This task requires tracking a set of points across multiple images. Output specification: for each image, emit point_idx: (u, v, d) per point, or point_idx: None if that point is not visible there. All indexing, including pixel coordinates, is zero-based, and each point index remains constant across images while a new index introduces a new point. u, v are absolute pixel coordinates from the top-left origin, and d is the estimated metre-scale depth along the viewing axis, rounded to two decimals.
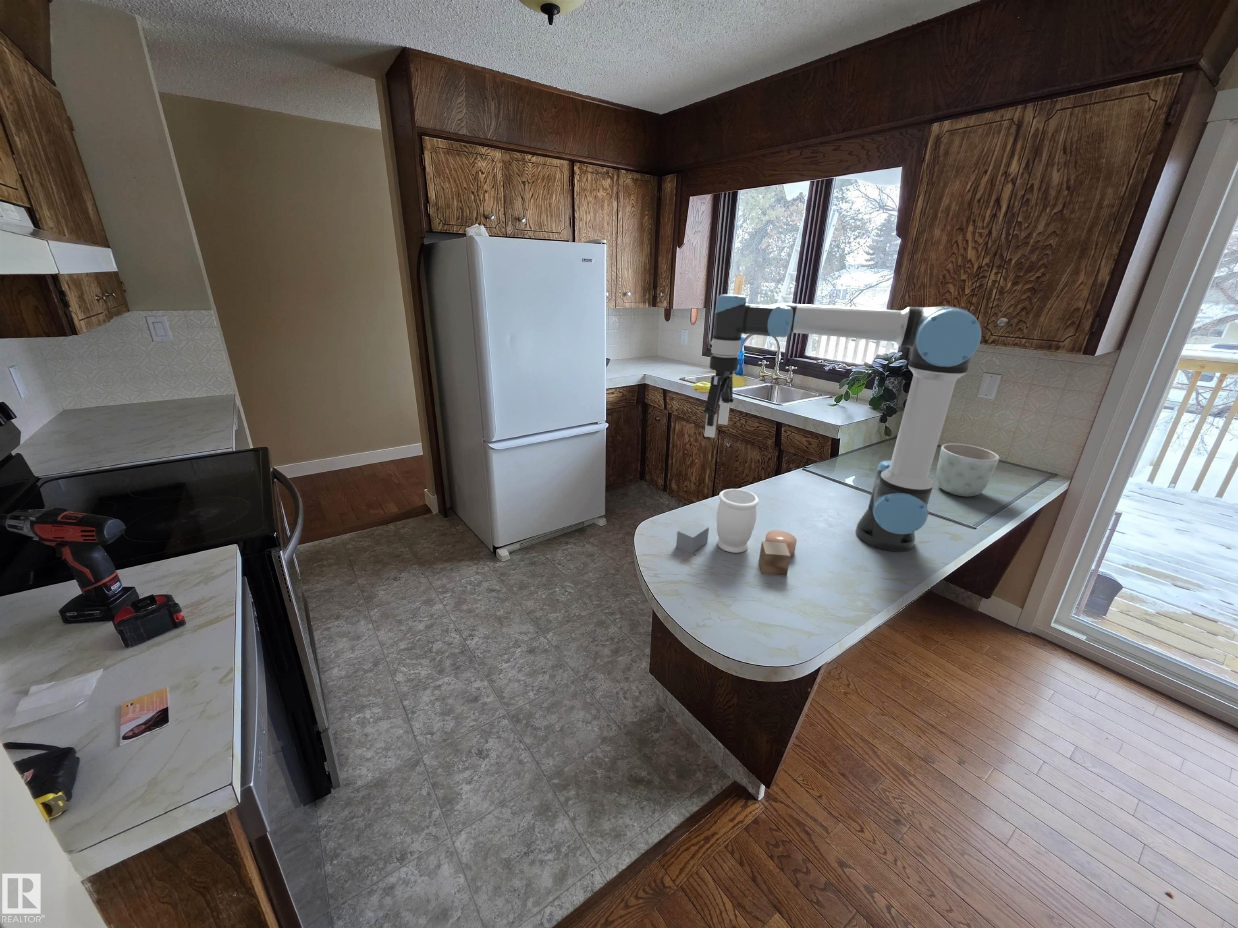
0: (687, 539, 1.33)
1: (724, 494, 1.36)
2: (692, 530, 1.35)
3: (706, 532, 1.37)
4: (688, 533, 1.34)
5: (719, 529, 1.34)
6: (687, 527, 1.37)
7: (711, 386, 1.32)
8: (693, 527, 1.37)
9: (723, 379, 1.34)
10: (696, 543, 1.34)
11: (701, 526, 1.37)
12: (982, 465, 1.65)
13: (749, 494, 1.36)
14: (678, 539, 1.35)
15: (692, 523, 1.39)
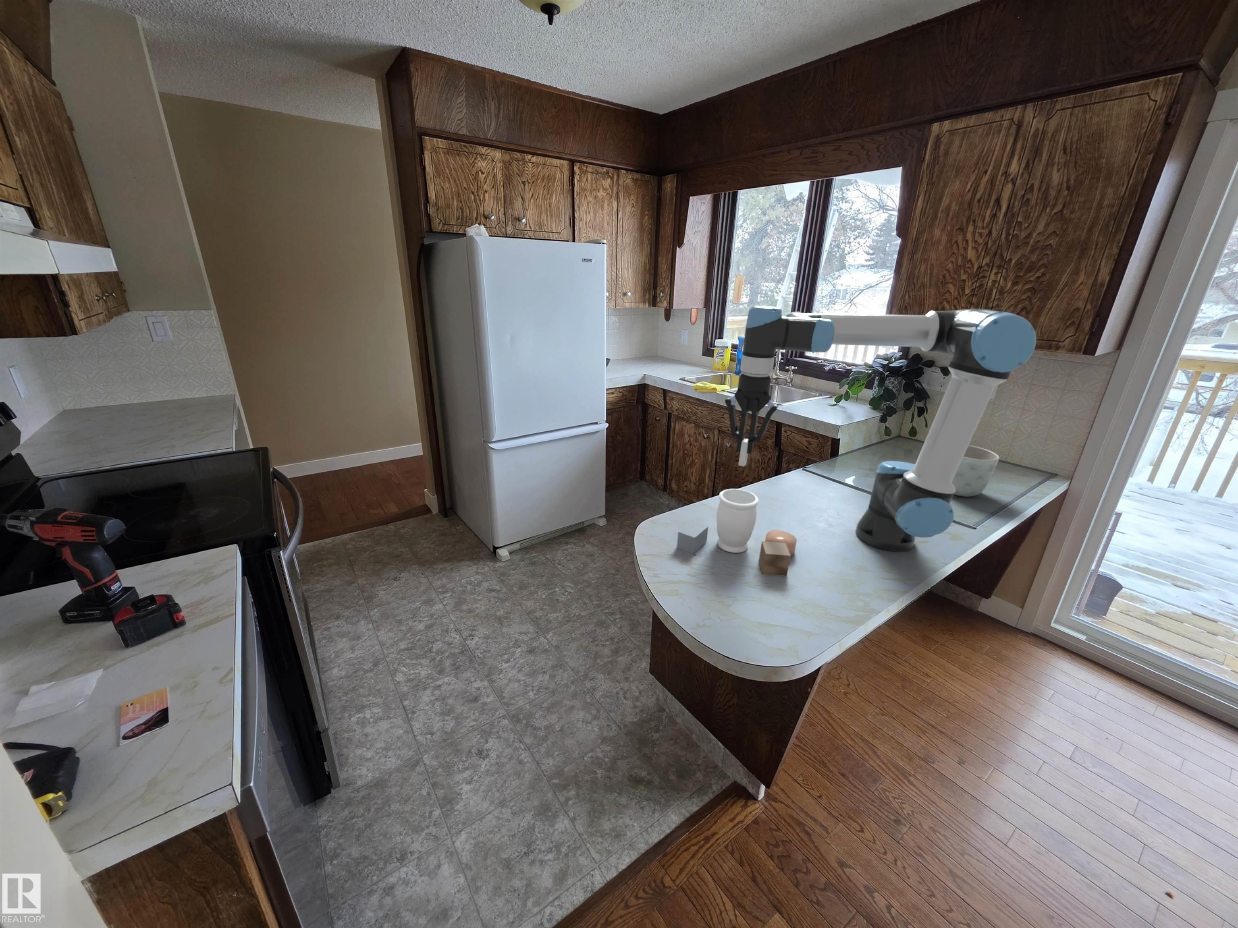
0: (688, 539, 1.33)
1: (724, 494, 1.36)
2: (692, 530, 1.35)
3: (706, 531, 1.37)
4: (689, 533, 1.33)
5: (719, 529, 1.34)
6: (687, 527, 1.37)
7: None
8: (693, 527, 1.37)
9: (740, 396, 1.23)
10: (697, 543, 1.34)
11: (700, 526, 1.38)
12: (982, 465, 1.65)
13: (749, 494, 1.36)
14: (679, 540, 1.35)
15: (691, 523, 1.39)
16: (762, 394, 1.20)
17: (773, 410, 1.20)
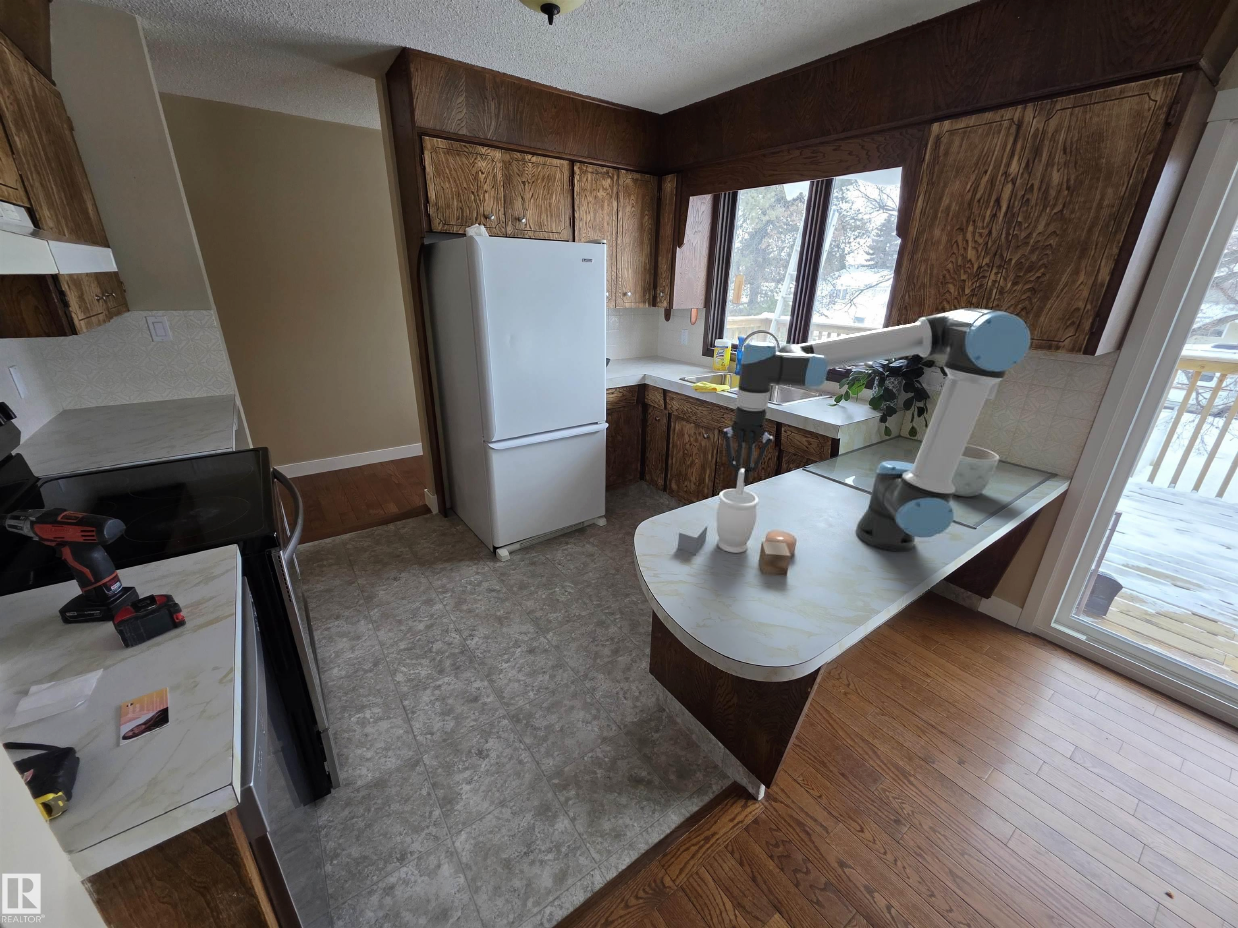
0: (690, 539, 1.33)
1: (724, 494, 1.36)
2: (693, 530, 1.35)
3: (705, 531, 1.38)
4: (690, 534, 1.33)
5: (719, 529, 1.34)
6: (686, 527, 1.36)
7: None
8: (692, 527, 1.37)
9: (736, 428, 1.26)
10: (698, 543, 1.34)
11: (700, 525, 1.38)
12: (982, 465, 1.65)
13: (749, 494, 1.36)
14: (680, 541, 1.34)
15: (690, 523, 1.39)
16: (758, 427, 1.23)
17: (769, 442, 1.23)
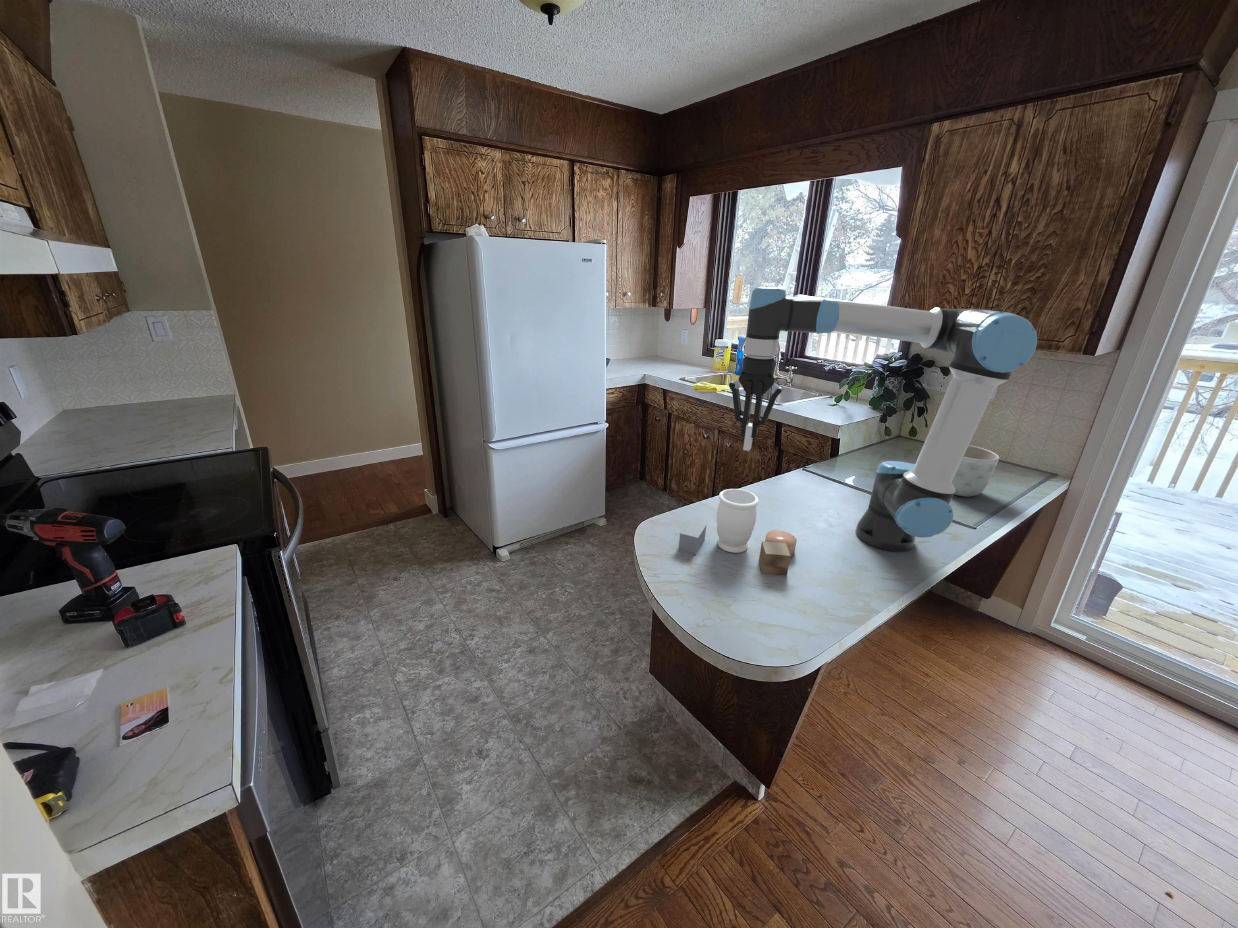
0: (691, 539, 1.33)
1: (724, 494, 1.36)
2: (693, 530, 1.35)
3: (704, 530, 1.38)
4: (691, 534, 1.33)
5: (719, 529, 1.34)
6: (686, 528, 1.36)
7: None
8: (692, 527, 1.37)
9: (744, 379, 1.21)
10: (699, 543, 1.34)
11: (699, 525, 1.38)
12: (982, 465, 1.65)
13: (749, 494, 1.36)
14: (681, 541, 1.34)
15: (689, 523, 1.39)
16: (766, 377, 1.19)
17: (778, 393, 1.19)
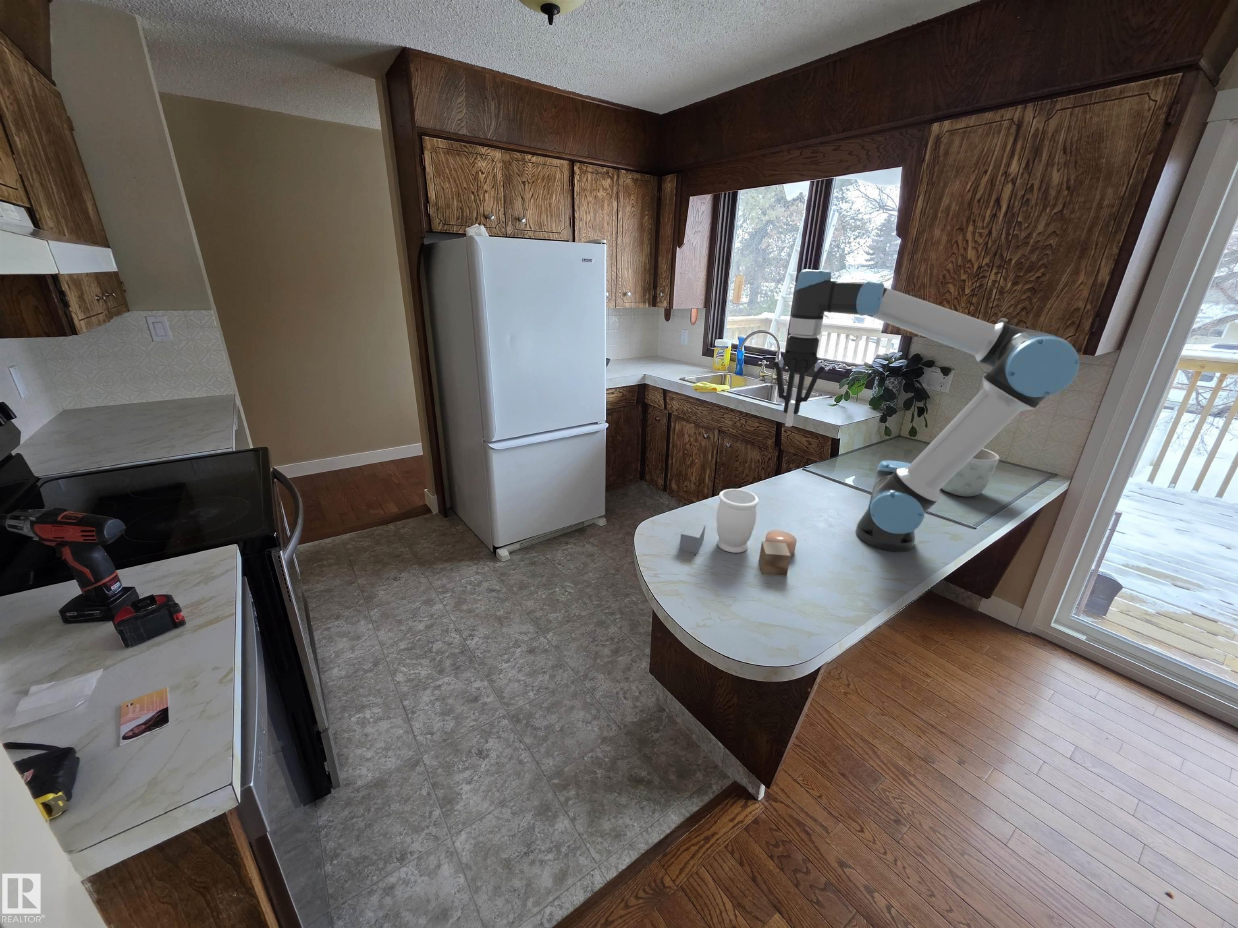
0: (692, 540, 1.33)
1: (724, 494, 1.36)
2: (693, 530, 1.35)
3: (704, 530, 1.38)
4: (692, 534, 1.33)
5: (719, 529, 1.34)
6: (686, 528, 1.36)
7: None
8: (692, 527, 1.37)
9: (788, 358, 1.28)
10: (699, 542, 1.34)
11: (698, 525, 1.38)
12: (982, 465, 1.65)
13: (749, 494, 1.36)
14: (682, 542, 1.34)
15: (688, 523, 1.39)
16: (810, 355, 1.25)
17: (821, 370, 1.25)
